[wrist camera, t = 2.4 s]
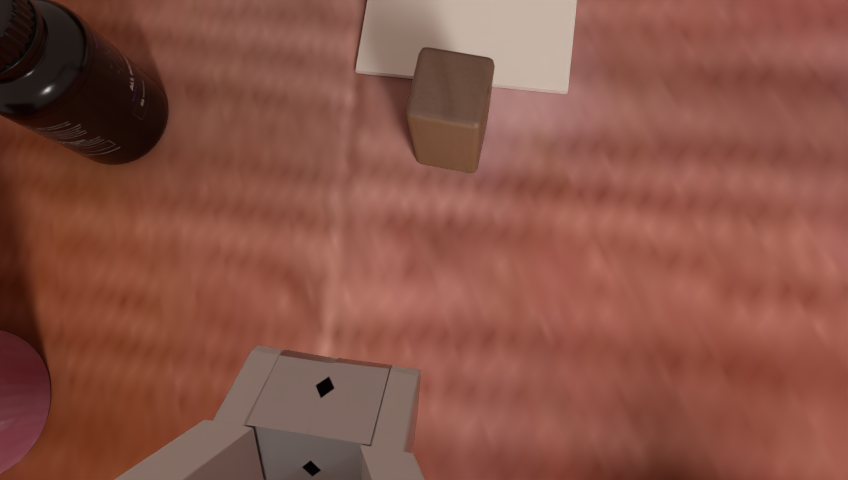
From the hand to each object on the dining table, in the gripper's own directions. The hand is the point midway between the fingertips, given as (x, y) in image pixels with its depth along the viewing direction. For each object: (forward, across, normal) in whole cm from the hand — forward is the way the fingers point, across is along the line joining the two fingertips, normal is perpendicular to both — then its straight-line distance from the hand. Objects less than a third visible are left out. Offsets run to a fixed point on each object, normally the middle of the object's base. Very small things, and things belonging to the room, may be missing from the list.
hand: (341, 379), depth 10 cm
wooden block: (+26, 0, +7) cm, 27 cm away
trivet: (+33, 0, 0) cm, 33 cm away
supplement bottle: (+25, +22, +8) cm, 35 cm away
